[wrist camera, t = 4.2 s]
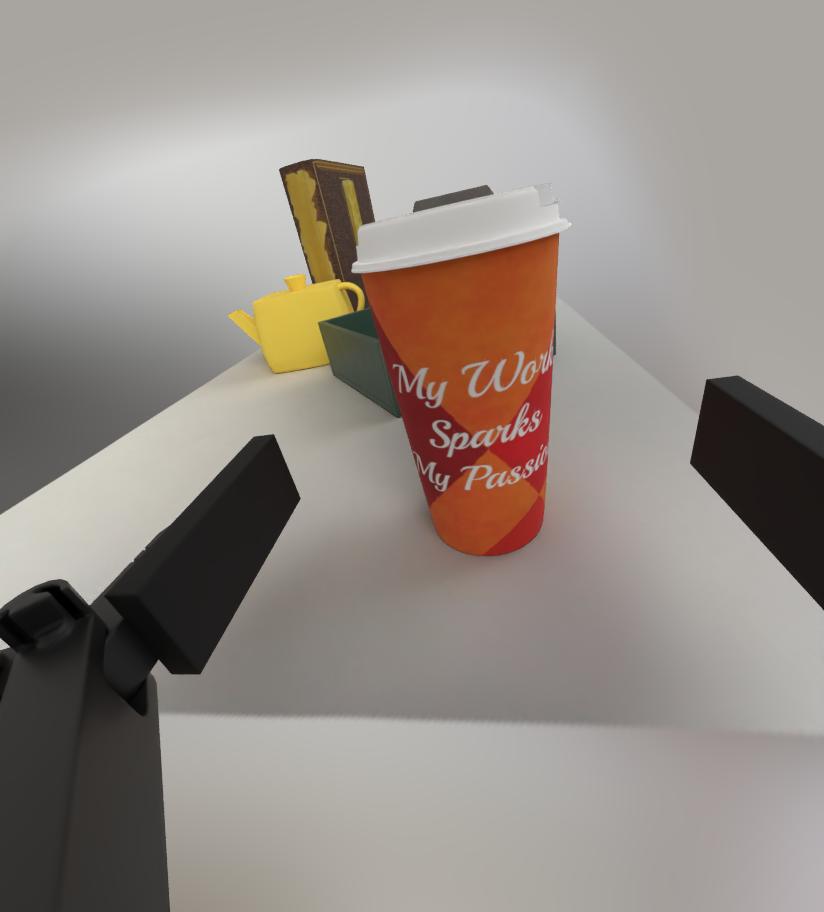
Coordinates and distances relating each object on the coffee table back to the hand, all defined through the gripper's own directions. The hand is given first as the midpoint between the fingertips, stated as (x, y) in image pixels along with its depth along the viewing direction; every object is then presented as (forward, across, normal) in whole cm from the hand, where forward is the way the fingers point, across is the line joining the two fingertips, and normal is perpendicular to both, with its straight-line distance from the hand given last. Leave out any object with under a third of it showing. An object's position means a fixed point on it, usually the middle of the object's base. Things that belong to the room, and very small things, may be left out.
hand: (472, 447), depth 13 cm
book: (+65, -20, -8) cm, 69 cm away
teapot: (+48, -25, -8) cm, 54 cm away
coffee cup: (+6, 0, -8) cm, 11 cm away
